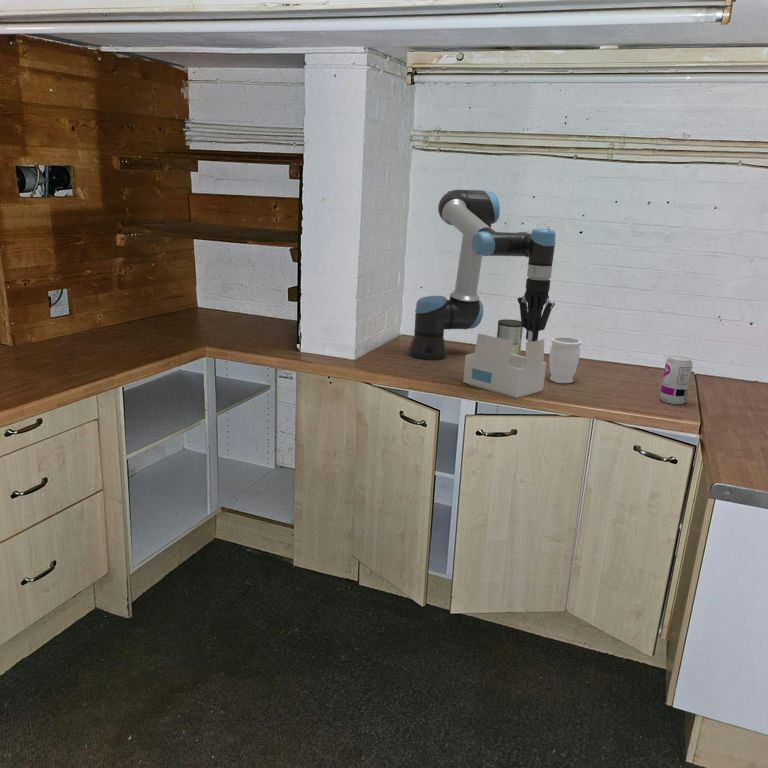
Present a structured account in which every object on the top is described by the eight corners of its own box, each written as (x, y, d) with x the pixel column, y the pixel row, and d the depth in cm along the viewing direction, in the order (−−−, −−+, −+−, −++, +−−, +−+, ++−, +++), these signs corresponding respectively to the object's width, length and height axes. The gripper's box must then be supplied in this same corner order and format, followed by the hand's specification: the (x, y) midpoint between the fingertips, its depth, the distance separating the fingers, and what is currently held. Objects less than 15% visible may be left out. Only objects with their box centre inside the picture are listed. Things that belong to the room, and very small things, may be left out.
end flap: (526, 342, 224) (527, 342, 224) (542, 338, 231) (544, 339, 231) (525, 366, 226) (526, 367, 226) (541, 362, 233) (543, 362, 232)
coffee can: (490, 352, 288) (493, 319, 284) (512, 352, 291) (516, 319, 287) (502, 359, 278) (505, 324, 274) (524, 358, 282) (528, 324, 278)
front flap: (474, 356, 236) (473, 356, 235) (479, 333, 235) (478, 333, 234) (509, 365, 226) (508, 365, 226) (513, 341, 225) (512, 341, 225)
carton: (461, 383, 242) (464, 355, 239) (490, 375, 253) (492, 348, 251) (515, 399, 227) (519, 369, 224) (543, 390, 238) (547, 362, 236)
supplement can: (659, 403, 231) (667, 359, 227) (659, 396, 238) (666, 354, 234) (685, 406, 228) (693, 362, 224) (685, 400, 236) (692, 357, 231)
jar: (554, 375, 259) (559, 335, 255) (580, 380, 253) (586, 340, 248) (541, 380, 251) (546, 339, 247) (568, 386, 245) (573, 344, 240)
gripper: (515, 276, 224) (507, 347, 231) (549, 281, 216) (540, 355, 222) (528, 275, 230) (520, 345, 236) (562, 280, 221) (553, 352, 227)
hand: (530, 350), depth 229 cm, fingers closed
